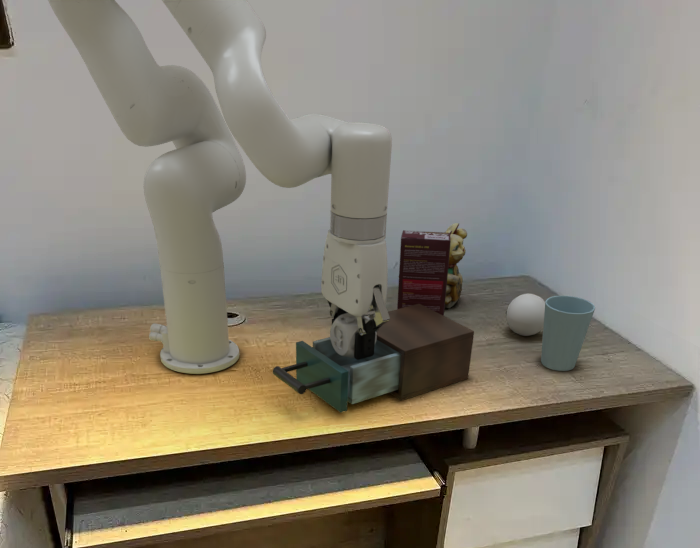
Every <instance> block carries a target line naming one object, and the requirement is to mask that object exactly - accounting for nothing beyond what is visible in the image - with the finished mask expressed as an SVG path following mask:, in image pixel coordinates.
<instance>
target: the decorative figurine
mask: <svg viewBox="0 0 700 548" xmlns="http://www.w3.org/2000/svg"><path fill="white" fill-rule="evenodd" d="M459 226H460V223H458V222H455V223H452V224H450V225H449V226H448V228H447V229H446V230H445V231H444V232H443V233H450V238H451V244H450V255H449V266H448V277H447V288H446V299H445V309H450V308H451V307H453V306H454V305H455V304H456V303H457V302H458V300H459V299H460V297H461V294H462V292H463V282H464V281H463V274H462V273H461V272H460V269H459V266H458V265H457V264H459V263H460V262H461V261H462V260H463V258H464V257H465V255H466V253H467V252H466V248H465V246H464V239H467V238H468V231H467V230H466V229H465V228H462V227H459Z"/></svg>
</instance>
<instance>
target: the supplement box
mask: <svg viewBox="0 0 700 548" xmlns="http://www.w3.org/2000/svg"><path fill="white" fill-rule="evenodd" d="M450 244H451V238H450V233H444V232H441V231H421V230H420V231H419V230H407V229H406V230H404V229H403V230H402V233H401V236H400V247H399V249H400V250H399V266H398V267H399V269H398V286H397V287H398V288H397V303H396V305H397V308H396V309H400V308H404V307H408V306H412V305H416V304H421V305H423V306H425V307H427V308H429V309H431V310H433V311H435V312H437V313H439V314H441V315H443V316H445V310H446V308H445V299H446V288H447V277H448V266H449V255H450Z"/></svg>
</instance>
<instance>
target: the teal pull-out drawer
mask: <svg viewBox="0 0 700 548" xmlns="http://www.w3.org/2000/svg"><path fill="white" fill-rule="evenodd" d="M400 365H401V354H400V353H399V352H397V351H395V350H393V349H392V348H390V347H388V346H387V345H385V344H383V343H382V342H380V341H378V340H376V343H375V348H374V355H373V356H371V357H367V358H363V359H360V360H357V359H355V358H347V357H343V356H341V355H339V354H338V353H337V352H336V351H335V349H334V348H333V346H332V343H331V339H330V336H328V337H324V338H321V339H317V340H313V341H312V346H311V344H308V343H307V342H305V341H304V340H299V341H296V342H295V363H294V364H291V365H287V366H284V367H281V366H280V365H276V366H274V367H273V369H272V375H274V376H275V377H276V378H278V380H280V381H282V382H283V383H284V384H286V385H287V386H288V387H289V388H291V389H292V390H294V391H295V392H296V393H297V394H299V395H304V394H305V393H306V392H307V390H309V391H310V392H312V393H313V394H314V395H316V396H317V397H318V398H320V399H321V400H322V401H324V402H325V403H327V404H328V405H329V406H331V407H332V408H333V409H334V410H336V411H337V412H339V413H340V414H341V413H344V412H347V411H348V403H349V404H351V405H355V404H358V403H361V402H364V401H367V400H370V399H373V398H376V397H379V396H383V395H386V394H390V393H389V392H392V391H395V390H398V389H399V378H400ZM293 371H296V372H295V373H296V375H295V377H294V376H293V375H292V374H291V373H290V372H293Z"/></svg>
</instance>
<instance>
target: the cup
mask: <svg viewBox="0 0 700 548" xmlns="http://www.w3.org/2000/svg"><path fill="white" fill-rule="evenodd" d="M544 302H545V313H544V327H543V329H542V342H541V357H540V362H541V365H542V366H544V367H545V368H546V369H549V370H553V371H556V372H567V371H571V370H573V369H574V368H575V367H576V364H577V361H578V359H579V355H580V354H581V350H582V347H583V345H584V342H585V338H586V336H587V334H588V333H587V332H588V330H589V328H590V324H591V322H592V319H593V316H594V313H595V310H596V305H595V304H594V303H593V302H591V301H589V300H587V299H585V298H583V297H578V296H573V295H553V296H549V297H547V298H546V299H545V300H544Z"/></svg>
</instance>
